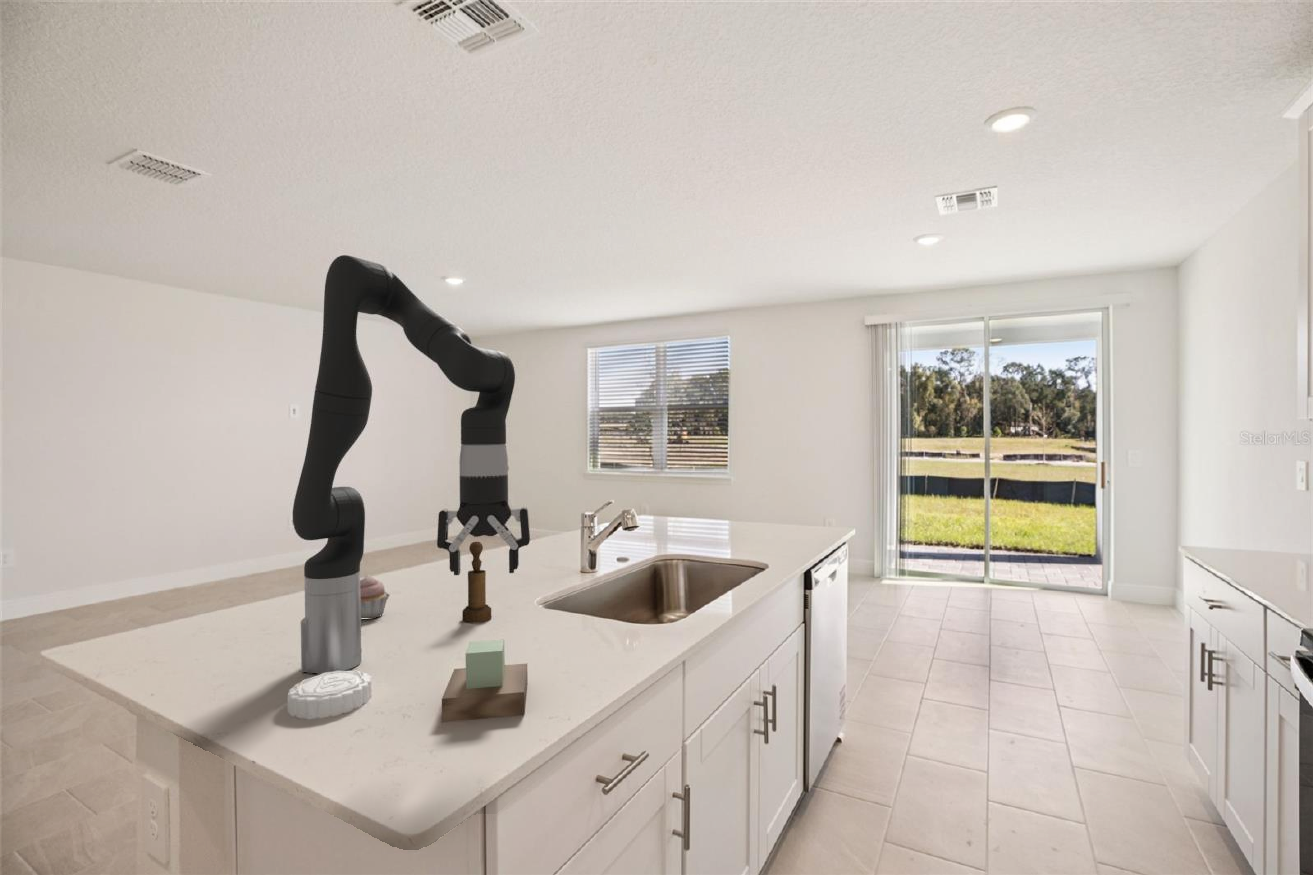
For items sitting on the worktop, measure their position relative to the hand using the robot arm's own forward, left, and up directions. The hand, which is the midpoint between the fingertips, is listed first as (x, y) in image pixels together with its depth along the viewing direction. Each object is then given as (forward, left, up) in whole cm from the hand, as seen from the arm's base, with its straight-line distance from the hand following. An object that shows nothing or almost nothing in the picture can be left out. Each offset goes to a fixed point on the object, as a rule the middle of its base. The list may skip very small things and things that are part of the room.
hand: (484, 573), depth 100 cm
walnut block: (0, -1, -21) cm, 21 cm away
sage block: (0, -1, -17) cm, 17 cm away
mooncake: (-25, +4, -21) cm, 33 cm away
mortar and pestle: (-7, +46, -21) cm, 51 cm away
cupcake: (-33, +54, -21) cm, 67 cm away
